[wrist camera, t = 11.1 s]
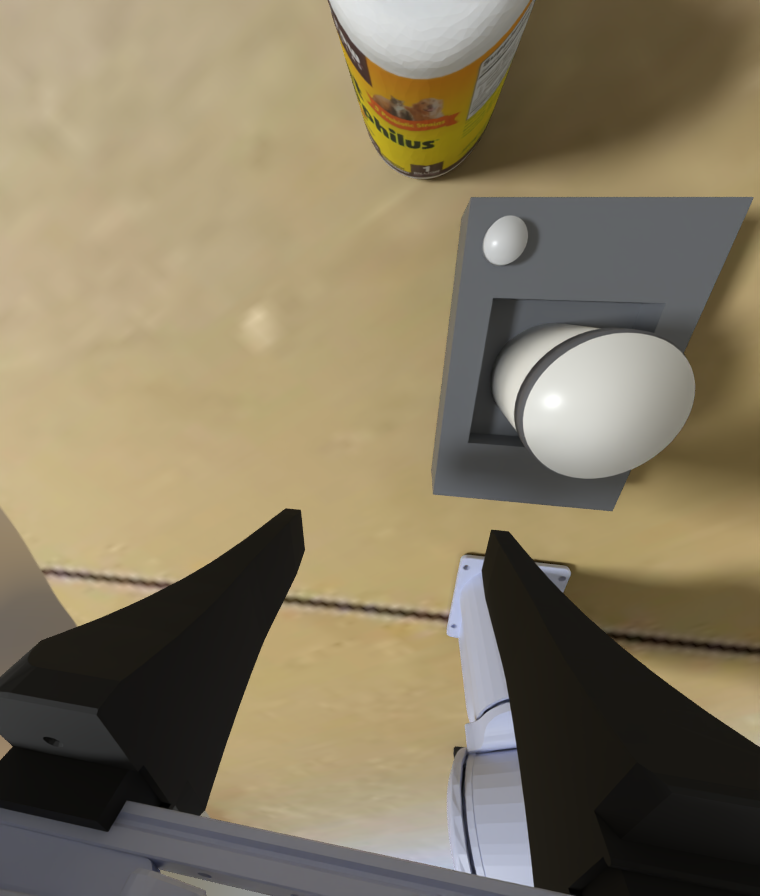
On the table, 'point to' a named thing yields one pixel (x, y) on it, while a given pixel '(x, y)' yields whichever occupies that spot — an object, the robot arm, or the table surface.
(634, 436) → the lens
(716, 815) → the robot arm
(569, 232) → the grey panel with knob
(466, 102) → the supplement bottle
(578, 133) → the table surface
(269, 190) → the table surface
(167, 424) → the table surface
